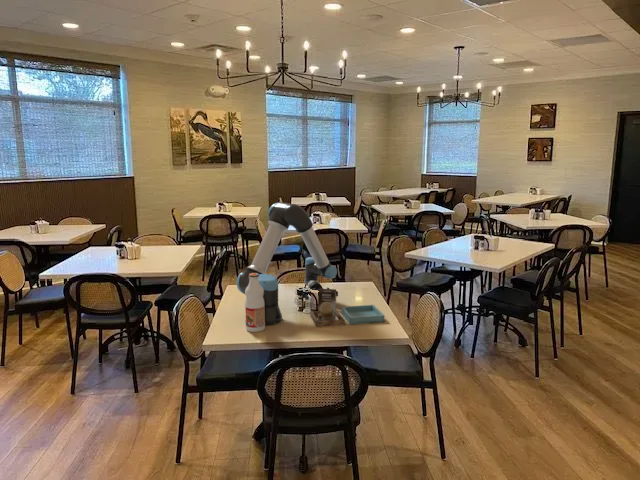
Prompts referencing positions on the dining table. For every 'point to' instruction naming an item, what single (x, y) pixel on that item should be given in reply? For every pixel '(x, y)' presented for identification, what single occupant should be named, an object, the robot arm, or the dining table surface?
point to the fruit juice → (254, 305)
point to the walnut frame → (328, 322)
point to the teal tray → (362, 314)
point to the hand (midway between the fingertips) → (323, 299)
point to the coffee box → (326, 304)
